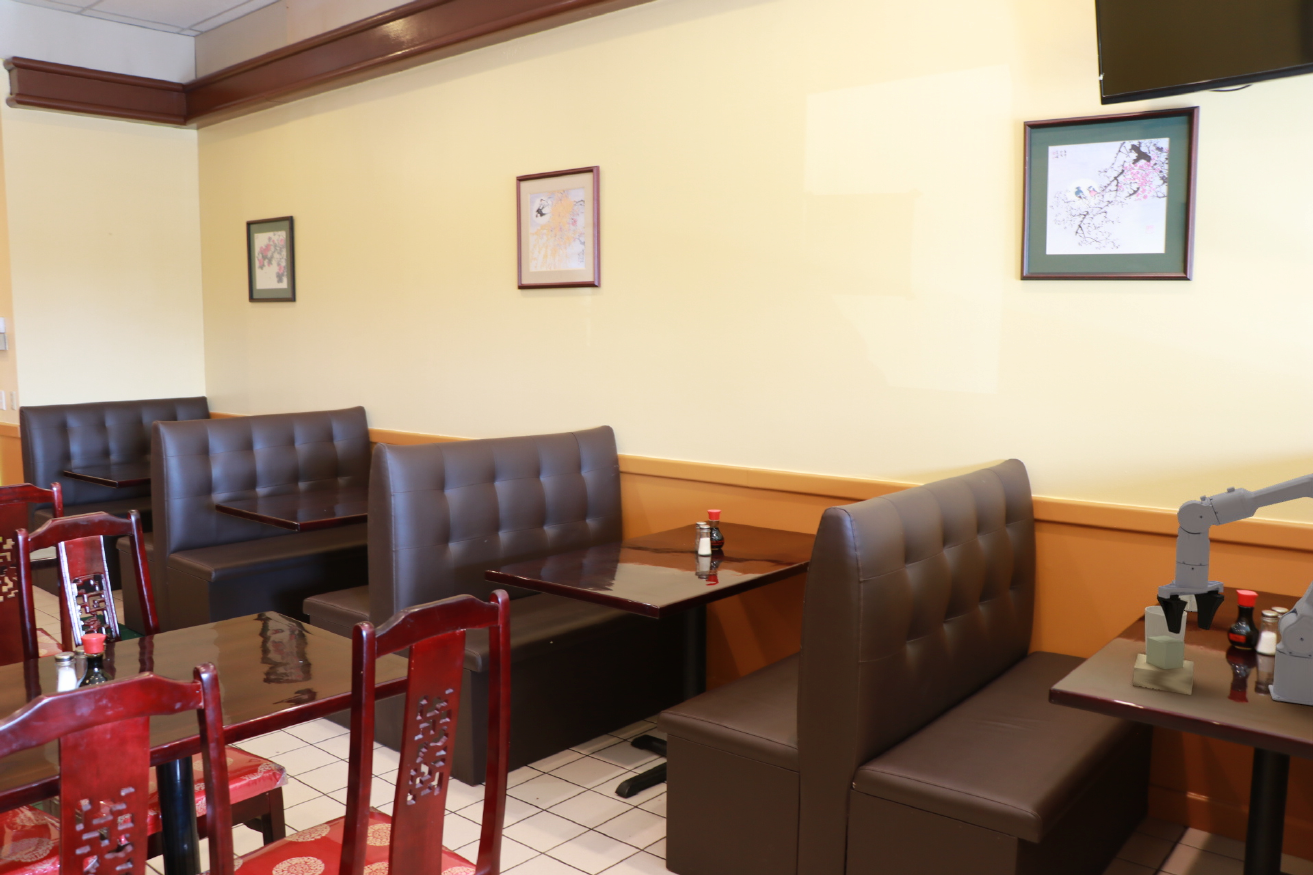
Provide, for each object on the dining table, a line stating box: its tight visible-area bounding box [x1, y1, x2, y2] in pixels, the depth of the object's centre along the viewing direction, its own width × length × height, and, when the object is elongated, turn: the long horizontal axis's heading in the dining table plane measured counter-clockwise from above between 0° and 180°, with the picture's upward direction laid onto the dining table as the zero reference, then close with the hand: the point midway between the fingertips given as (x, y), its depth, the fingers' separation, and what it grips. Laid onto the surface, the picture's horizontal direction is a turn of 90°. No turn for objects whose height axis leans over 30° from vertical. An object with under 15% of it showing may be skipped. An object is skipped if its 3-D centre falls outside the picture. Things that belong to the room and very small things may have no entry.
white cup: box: [1144, 605, 1188, 655], centre depth 210 cm, size 8×8×10 cm
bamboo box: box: [1132, 653, 1195, 696], centre depth 195 cm, size 10×10×4 cm
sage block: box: [1145, 636, 1186, 669], centre depth 194 cm, size 5×5×5 cm
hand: (1188, 630), depth 194 cm, fingers open, 7 cm apart
